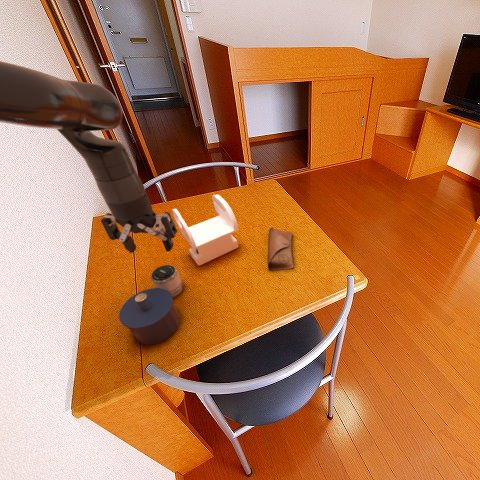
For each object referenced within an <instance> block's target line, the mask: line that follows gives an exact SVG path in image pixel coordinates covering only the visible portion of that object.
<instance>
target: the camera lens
mask: <svg viewBox="0 0 480 480" xmlns="http://www.w3.org/2000/svg"><path fill="white" fill-rule="evenodd" d="M150 279H151V281H152V283H153V285H154V288H162V289H165V290H167V291H169V292H170V293H171V295H172V297H173V298H175V297H177V296H179V295H180V293H181V292H182V291H183V280H182V279H181V277H180V274H179V272H178V270H177V268H176V266H174V265H171V264H165V265H160V266H159V267H156V268H155V269H153V271H152V272H151V275H150Z"/></svg>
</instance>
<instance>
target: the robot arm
mask: <svg viewBox="0 0 480 480" xmlns="http://www.w3.org/2000/svg"><path fill="white" fill-rule="evenodd" d="M123 113H124V112H123V108H122V105H121V103H120V102H119V100H118V99H117V97H116V96H115V95H114V94H113V93H112V92H111V91H110V90H109V89H107V88H106V87H104V86H102V85H99V84H97V83H92V82H85V81H77V80H70V79H69V80H68V79H64V78H63V79H62V78H59V77H56V76H54V75H51V74H48V73H45V72H42V71H40V70H37V69H32V68H29V67H26V66H22V65H19V64H15V63H10V62H6V61H1V60H0V123H2V124H3V123H4V124H8V125H15V126H21V127H28V128H36V129H49V130H50V129H52V130H57V131H58V132H59V134H61V136H62V137H64V138H65V140H66V141H67V142H68V143H69V144H70V145H71V146H72V147H73V148H74V149H75V151H76V152H77V153H78V154H79V155H80V157H82V159H83V160H84V162H85V164H86V166H87V168H88V169H89V171H90V173H91V175H92V177H93V178H94V181H95V184H96V187H97V189H98V191H99V193H100V195H101V196H102V198H103V200H104V202H105V204H106V205H107V207H108V209H109V211H110V212H107V213H106V214H105V215H104V216H103V217H102V218H101V219H100V222H101V224H102V226H103V228H104V230H105V232H106V234H107V236H108V238H109V240H111V241H115V240H118V241H119V242H121V243H122V245H123V246H124V249H125V250H126V251H128V253H130V254H132V253H135V251H136V250H137V245H136V243H135V241H134V239H133V237H132V236H131V235H130V234H131V233H133V234H140V233H141V234H150V235H151V236H153V237H157V238H159V239H160V240H161V242H162V244H163V246H164V249H165V252H171V251H172V249H173V248H174V245H175V243H174V242H173V239H174V238H175V237H176V234H177V233H178V229H177V227H176V224H175V222H174V220H173V217H172V216H171V214H170V212H169V211H165V212H164V213H163V214H157V213H155V211H154V210H153V205H152V203H151V200H150V198H149V196H148V194H147V192H146V189H145V185H143V181H142V180H141V177H140V176H139V174H138V172H137V171H136V169H135V167H134V164H133V162H132V160H131V157H130V154H129V152H128V150H127V148H126V146H125V145H124V144H123V143H122V142H121V141H118V140H115V139H114V140H113V139H109V138H102V137H99V136H98V135H97V136H96V134H94V133H93V132H94V131H95V132H96V131H110V130H115V129H116V128H118V127H119V126H120V125H121V124H122V121H123V118H124V117H123V116H124V115H123ZM117 224H118V225H119V226H121V227H122V228H123V229H122V231H120V228H119V226H118V225H117ZM154 227H155V229H154Z"/></svg>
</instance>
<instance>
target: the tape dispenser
mask: <svg viewBox="0 0 480 480" xmlns="http://www.w3.org/2000/svg"><path fill="white" fill-rule="evenodd" d="M211 197H212V199H211V200H212V204H213V206H214V207H213V208H214V211H215V213H216V214H217V216H215V217H212V218H209V219H207V220H204V221H201V222H198V223H197V224H194V225H191V226H188V225H187V223H186V221H185V219H184V218H183V216H182V215H181V213H180V211H179V210H178V209H177V208H172V209H171V212H172V216H173V218H174V220H175V222H176V225H177V226H178V230H179V232H180V234H182V236H183V237H184V239H185V240H186V241H187V242H188V243H189V245H190V246H191V248H188V252H189V255H190V257H191V258H192V260H193V261H194V262H195V263H196V265H197V266H198V267H200V266H202V265H204V264H206V263H208V262H210V261H212V260H215V259H216V258H219V257H221V256H223V255H225V254H227V253H230V252H231V251H234V250H236V249H238V248H239V241H238V239H237V238H235V237H234V236H233V233H235V232H237V231H239V230H240V228H239V224H238V220H237V217H236V216H235V214H234V211H233V209H232V208H231V206H230V204H228V202H227V201H226V200H225V199H224V198H223V197H222V196H221V195H220V194H218V193H217V194H213V195H212V196H211Z"/></svg>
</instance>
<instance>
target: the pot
mask: <svg viewBox="0 0 480 480" xmlns="http://www.w3.org/2000/svg"><path fill="white" fill-rule="evenodd" d="M180 323H181V317H180V313H179V311H178V309H177V306H176V305H175V303H174V302H173V305H172V308H171V310H170V311H169V313H168V314H167V315H166V316H165V317H164V318H163V319H162V320H160V321H159V322H157V323H156V324H154V325H151V326H149V327H146V328H141V329H131V328H128V329H129V331H130V332H131V334H132V335H133V337H134V338H135V339H136V340H137V341H138V342H140V343H141V344H143V345H155V344H160V343H161V342H164V341H166V340H167V339H169V338H170V337H171V336H172V335H174V333H176V331H177V330H178V328H179V326H180Z"/></svg>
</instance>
